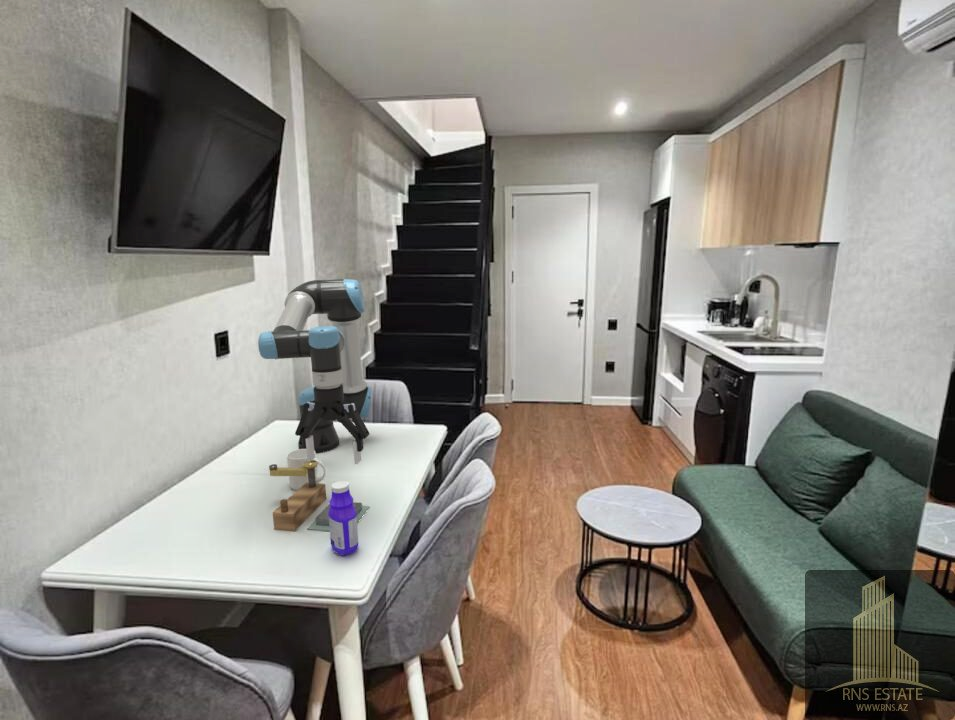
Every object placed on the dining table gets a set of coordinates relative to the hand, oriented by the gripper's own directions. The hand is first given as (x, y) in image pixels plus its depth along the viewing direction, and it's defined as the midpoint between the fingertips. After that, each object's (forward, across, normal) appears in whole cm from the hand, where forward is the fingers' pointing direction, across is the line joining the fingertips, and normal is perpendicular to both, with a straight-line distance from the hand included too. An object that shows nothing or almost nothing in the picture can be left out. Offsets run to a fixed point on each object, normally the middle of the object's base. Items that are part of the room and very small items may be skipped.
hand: (334, 461), depth 136 cm
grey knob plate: (+16, 0, 0) cm, 16 cm away
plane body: (+17, -12, 0) cm, 20 cm away
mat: (+17, 0, 0) cm, 17 cm away
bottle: (+17, +8, -14) cm, 24 cm away
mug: (+17, -18, +18) cm, 31 cm away
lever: (+8, -17, +7) cm, 20 cm away
